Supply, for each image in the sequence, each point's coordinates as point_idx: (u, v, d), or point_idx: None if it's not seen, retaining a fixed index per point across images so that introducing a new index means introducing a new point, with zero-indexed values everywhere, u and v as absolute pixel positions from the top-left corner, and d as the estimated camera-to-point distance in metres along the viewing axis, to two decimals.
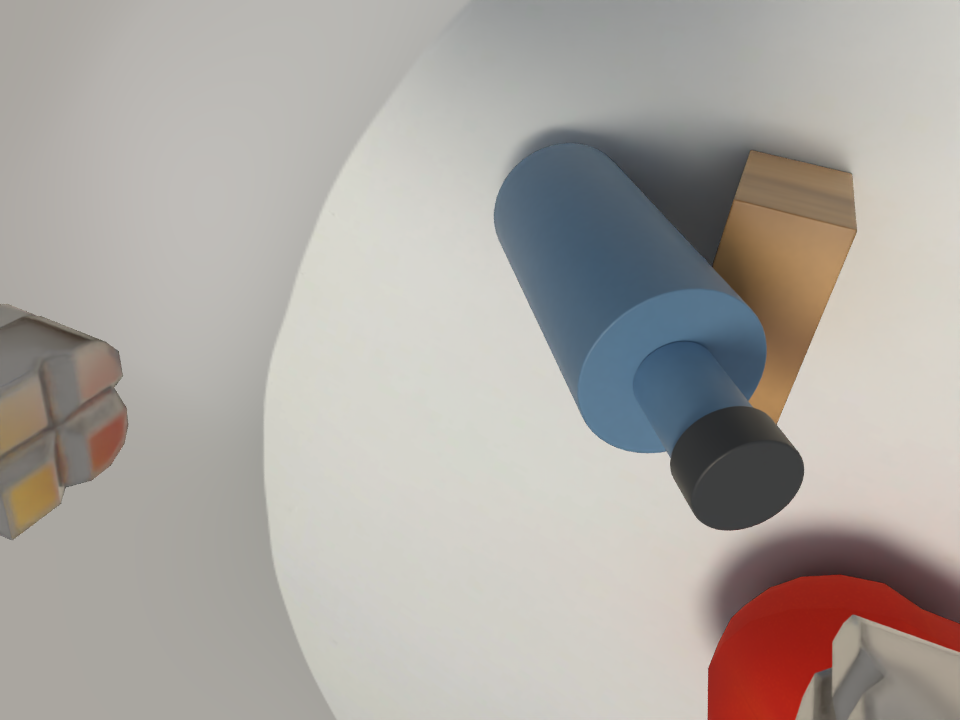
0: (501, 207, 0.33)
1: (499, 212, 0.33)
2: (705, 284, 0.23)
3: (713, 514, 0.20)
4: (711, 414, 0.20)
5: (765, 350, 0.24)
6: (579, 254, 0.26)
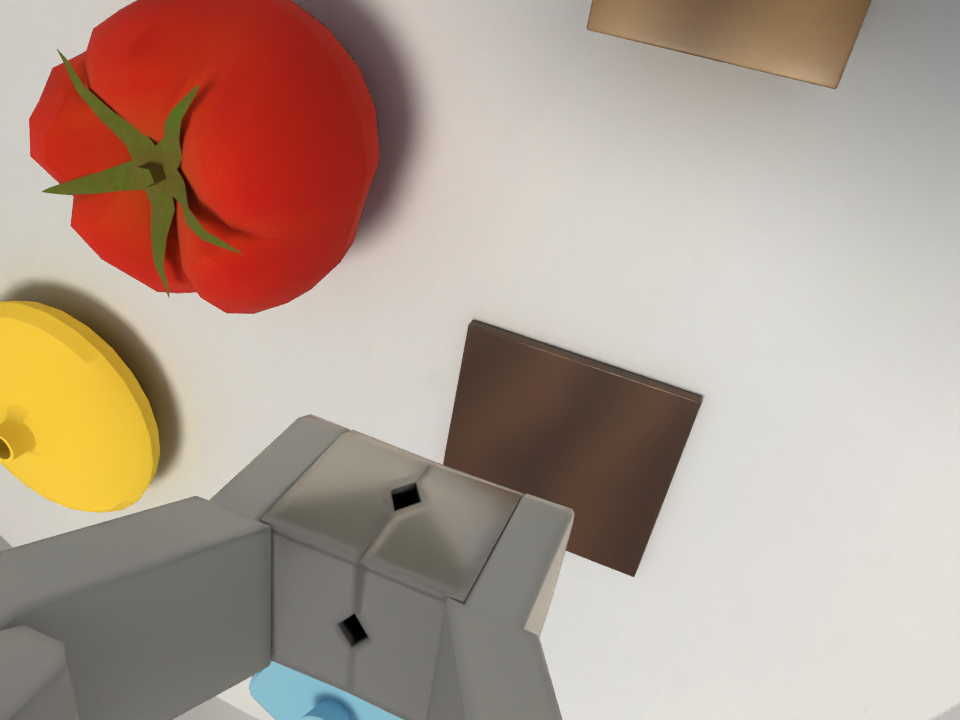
0: None
1: None
2: None
3: None
4: None
5: None
6: None
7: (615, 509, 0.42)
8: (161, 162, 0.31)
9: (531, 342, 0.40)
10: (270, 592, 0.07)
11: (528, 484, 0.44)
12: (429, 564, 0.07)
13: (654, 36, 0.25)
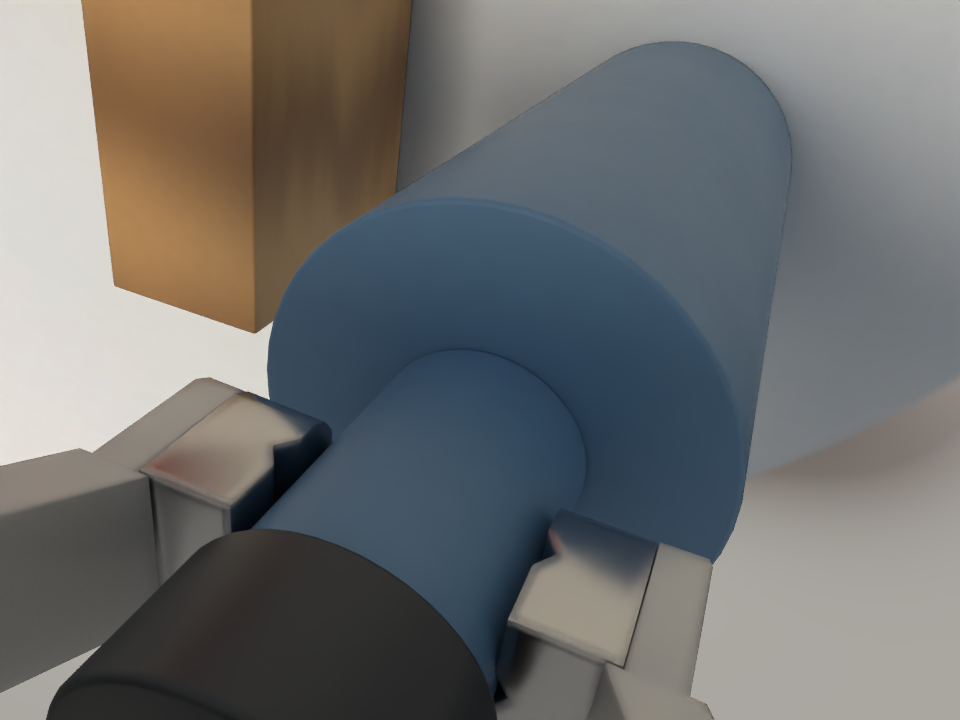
0: None
1: None
2: None
3: None
4: None
5: None
6: None
7: None
8: None
9: None
10: (153, 541, 0.07)
11: None
12: (580, 624, 0.06)
13: (94, 36, 0.16)
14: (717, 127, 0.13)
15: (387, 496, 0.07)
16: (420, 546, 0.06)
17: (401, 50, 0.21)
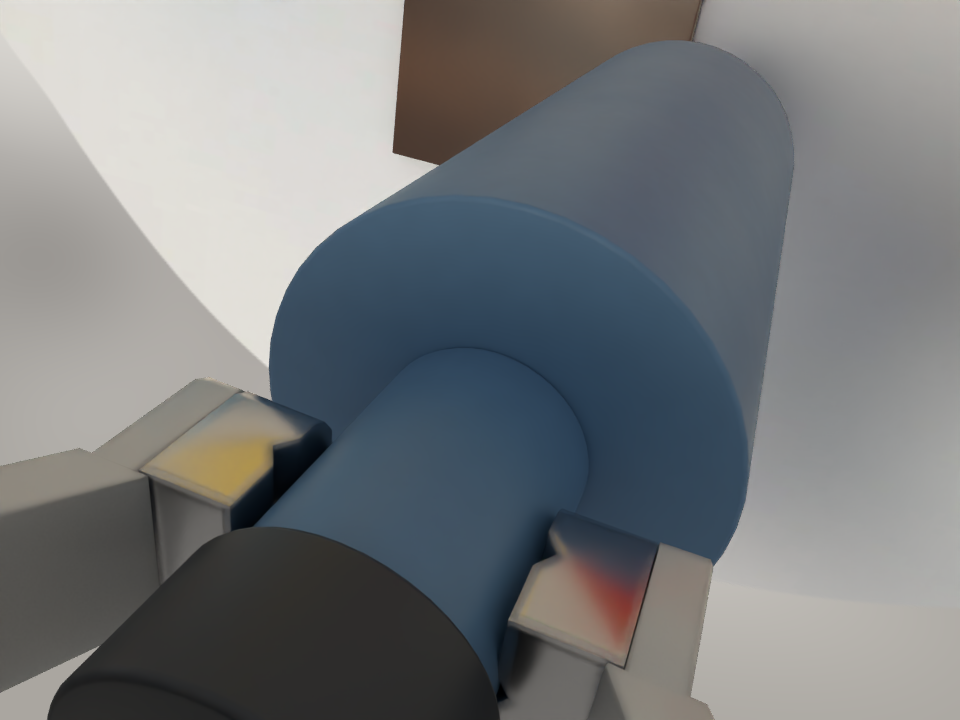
0: None
1: None
2: None
3: None
4: None
5: None
6: None
7: (479, 126, 0.35)
8: None
9: None
10: (153, 541, 0.07)
11: (484, 5, 0.32)
12: (580, 624, 0.06)
13: None
14: (720, 125, 0.13)
15: (388, 494, 0.07)
16: (424, 545, 0.06)
17: None
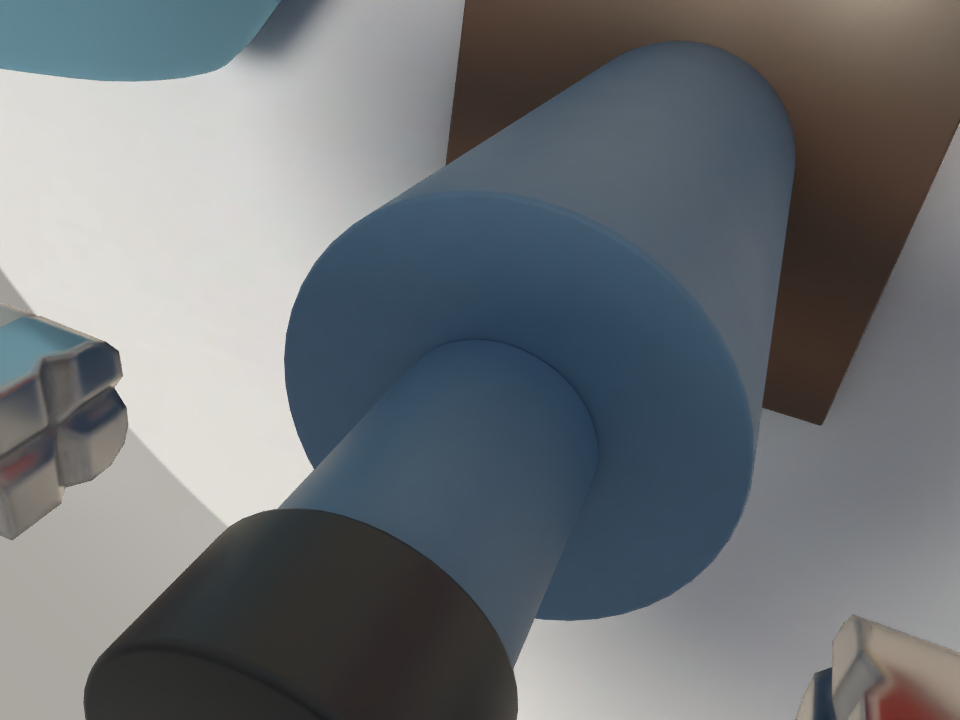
0: None
1: None
2: None
3: None
4: None
5: (297, 427, 0.11)
6: None
7: None
8: None
9: None
10: None
11: None
12: None
13: None
14: (723, 124, 0.13)
15: (407, 477, 0.07)
16: (443, 526, 0.07)
17: None
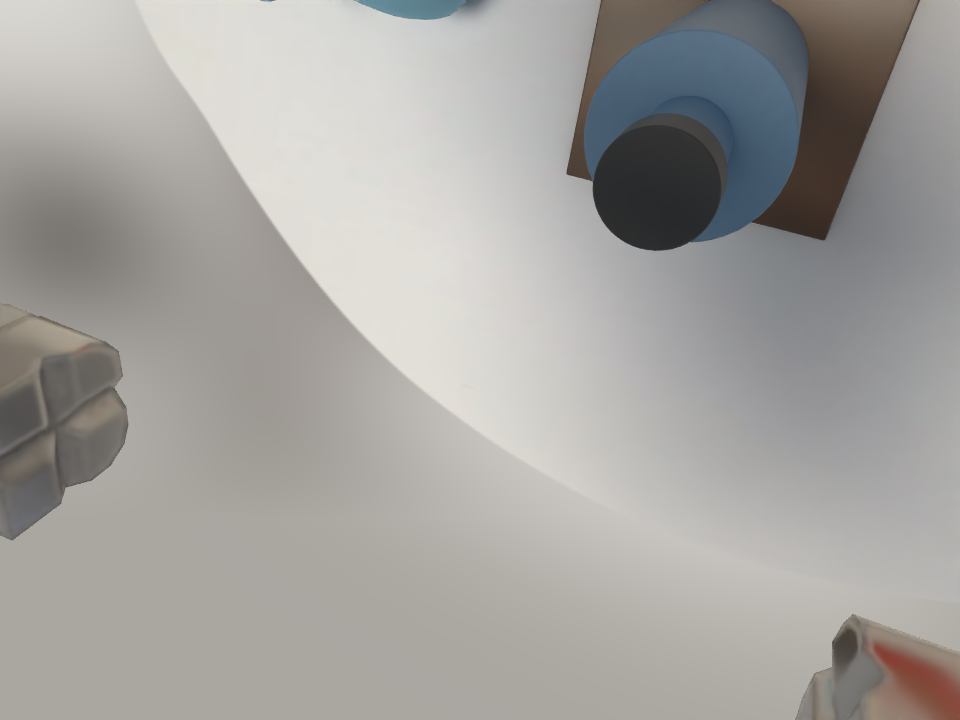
0: None
1: None
2: None
3: (694, 161, 0.18)
4: None
5: (586, 154, 0.24)
6: None
7: None
8: None
9: (906, 32, 0.31)
10: None
11: None
12: None
13: None
14: (775, 26, 0.26)
15: None
16: None
17: None
